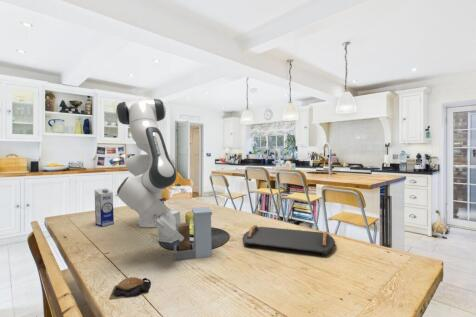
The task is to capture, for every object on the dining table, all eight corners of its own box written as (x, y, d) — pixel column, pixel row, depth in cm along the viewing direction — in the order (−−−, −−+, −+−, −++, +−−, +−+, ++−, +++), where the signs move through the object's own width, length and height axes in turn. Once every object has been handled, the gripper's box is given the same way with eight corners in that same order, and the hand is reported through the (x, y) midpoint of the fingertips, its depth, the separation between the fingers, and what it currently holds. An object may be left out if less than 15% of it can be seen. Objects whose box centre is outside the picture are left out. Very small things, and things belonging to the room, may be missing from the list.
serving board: (335, 239, 115) (335, 226, 114) (335, 261, 93) (335, 244, 93) (252, 231, 128) (252, 219, 128) (236, 248, 107) (235, 233, 107)
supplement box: (181, 238, 119) (180, 211, 118) (170, 243, 112) (170, 215, 111) (168, 236, 122) (168, 210, 121) (157, 241, 115) (157, 213, 115)
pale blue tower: (174, 261, 94) (172, 214, 93) (173, 252, 102) (172, 209, 102) (212, 256, 97) (212, 211, 97) (209, 248, 106) (208, 206, 105)
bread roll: (108, 302, 70) (107, 289, 69) (115, 286, 78) (114, 275, 78) (149, 296, 72) (148, 284, 72) (151, 281, 80) (151, 270, 80)
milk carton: (108, 222, 148) (106, 187, 147) (114, 224, 144) (113, 188, 143) (95, 225, 142) (94, 189, 141) (101, 227, 138) (100, 190, 137)
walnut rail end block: (179, 257, 97) (178, 226, 96) (179, 253, 101) (178, 223, 100) (190, 256, 98) (189, 225, 97) (189, 252, 102) (188, 222, 101)
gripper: (160, 212, 86) (189, 237, 89) (161, 200, 106) (186, 222, 109) (146, 226, 85) (177, 251, 88) (150, 212, 105) (175, 233, 108)
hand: (182, 235), depth 99 cm, fingers open, 8 cm apart
